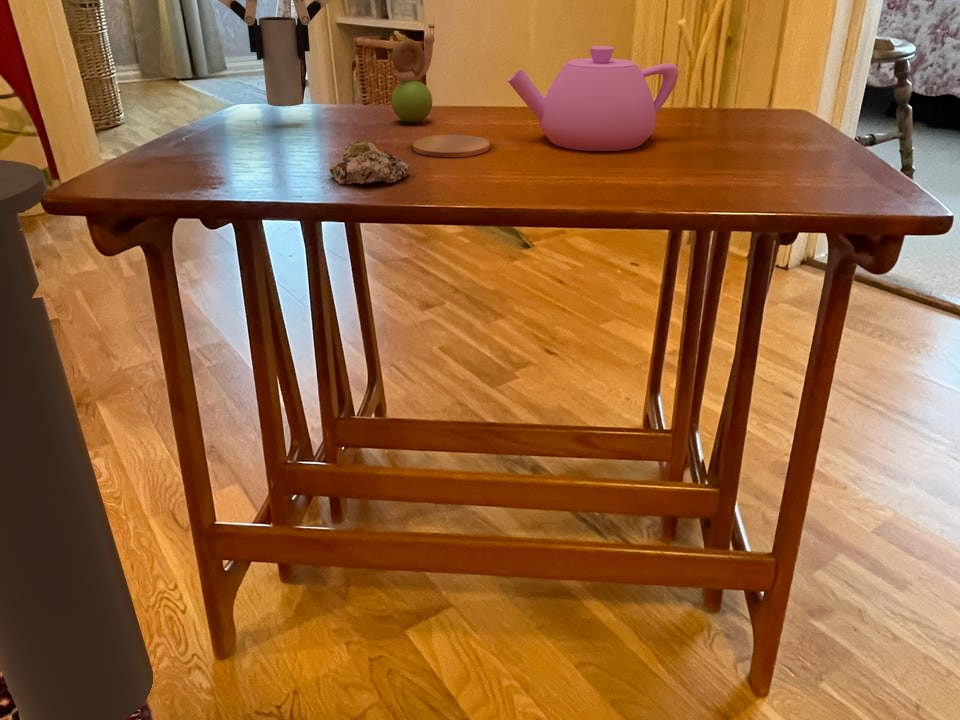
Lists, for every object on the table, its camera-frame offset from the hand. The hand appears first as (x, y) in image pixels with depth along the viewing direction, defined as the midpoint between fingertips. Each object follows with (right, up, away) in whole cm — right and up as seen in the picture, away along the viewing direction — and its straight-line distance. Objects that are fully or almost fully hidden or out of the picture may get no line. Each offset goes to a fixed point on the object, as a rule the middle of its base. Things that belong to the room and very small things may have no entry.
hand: (280, 56), depth 100 cm
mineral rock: (+14, -19, -18) cm, 30 cm away
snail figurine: (+17, -7, +6) cm, 19 cm away
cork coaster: (+22, -14, -8) cm, 27 cm away
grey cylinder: (0, -5, +3) cm, 6 cm away
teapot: (+39, -12, -5) cm, 41 cm away
